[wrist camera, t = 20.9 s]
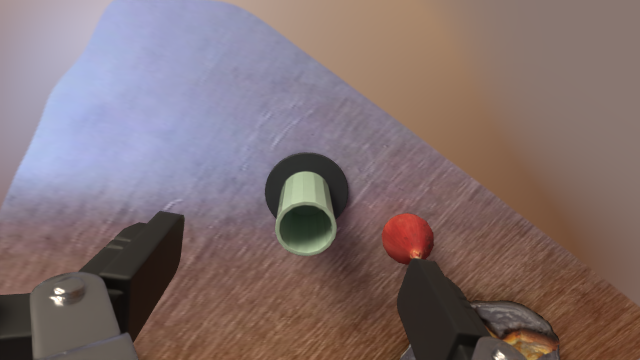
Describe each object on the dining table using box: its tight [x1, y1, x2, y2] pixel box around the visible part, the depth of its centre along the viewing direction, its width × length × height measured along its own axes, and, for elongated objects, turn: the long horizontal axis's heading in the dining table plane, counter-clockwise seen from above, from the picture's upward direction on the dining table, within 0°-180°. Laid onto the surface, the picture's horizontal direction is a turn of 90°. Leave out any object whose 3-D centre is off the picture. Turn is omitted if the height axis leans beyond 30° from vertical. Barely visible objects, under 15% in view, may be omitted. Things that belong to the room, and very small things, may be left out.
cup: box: [275, 171, 337, 256], centre depth 36 cm, size 6×6×9 cm
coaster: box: [265, 153, 348, 219], centre depth 41 cm, size 10×10×1 cm
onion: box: [382, 213, 434, 265], centre depth 39 cm, size 6×6×8 cm
